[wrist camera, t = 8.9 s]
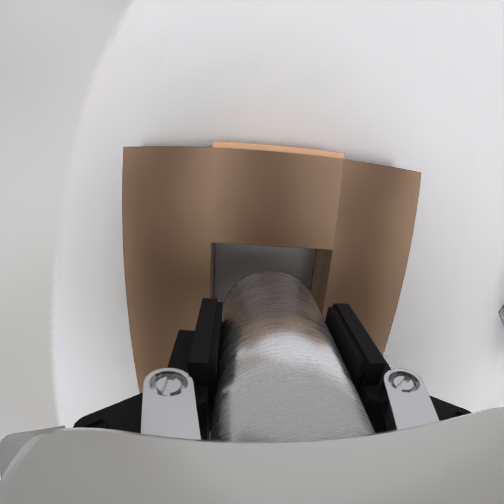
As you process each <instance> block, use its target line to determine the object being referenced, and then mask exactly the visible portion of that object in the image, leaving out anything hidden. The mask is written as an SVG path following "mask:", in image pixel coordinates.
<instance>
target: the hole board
mask: <svg viewBox="0 0 504 504" xmlns="http://www.w3.org/2000/svg"><path fill="white" fill-rule="evenodd" d="M344 154H345V153H339V152H332V151H324V150H316V149H308V148H299V147H289V146H278V145H267V144H254V143H239V142H220V141H213V144H212V147H174V146H143V147H124V148H123V176H122V222H123V251H124V269H125V283H126V295H127V306H128V316H129V325H130V333H131V341H132V348H133V355H134V362H135V368H136V375H137V381H138V386H139V392H140V393H143V386H144V380H145V378H146V377H147V376H148V374H150V373H151V372H153V371H155V370H158V369H161V368H167V367H168V364H169V360H170V357H171V354H172V350H173V347H174V344H175V341H176V338H177V334H178V331H179V330H192V331H195V328H196V323H197V319H198V315H199V311H200V306H201V302H202V298H213V299H214V267H215V243H230V244H247V245H263V246H280V247H296V248H312V249H316V255H315V262H314V270H313V277H312V284H311V290H310V292H311V294H312V296H313V298H314V300H315V302H316V304H317V306H318V308H319V310H320V313H321V315H322V317H323V319H324V321H325V320H326V315H327V310H328V308H329V307H332V306H333V304H334V303H341V304H349V305H350V307H351V308H352V310H353V311H354V313H355V314H356V316H357V318H358V319H359V321H360V322H361V324H362V325H363V327H364V328H365V330H366V331H367V333H368V334H369V336H370V337H371V339H372V340H373V342H374V343H375V345H376V346H377V348H378V350H379V351H380V353H381V354H382V356H383V353H384V350H385V346H386V343H387V340H388V336H389V333H390V330H391V326H392V323H393V319H394V315H395V312H396V308H397V304H398V300H399V296H400V292H401V288H402V284H403V279H404V275H405V270H406V266H407V261H408V256H409V251H410V246H411V240H412V235H413V229H414V223H415V217H416V210H417V203H418V196H419V188H420V180H421V172H416V171H411V170H406V169H401V168H395V167H390V166H384V165H378V164H372V163H366V162H359V161H352V160H345V159H344Z"/></svg>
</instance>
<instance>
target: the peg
mask: <svg viewBox="0 0 504 504" xmlns="http://www.w3.org/2000/svg"><path fill="white" fill-rule="evenodd" d="M374 433H375V431H374V429H373V427H372V424H371V422H370V420H369V418H368V415H367V413H366V411H365V408H364V406H363V404H362V402H361V399H360V397H359V395H358V393H357V390H356V388H355V386H354V384H353V381H352V379H351V377H350V375H349V373H348V370H347V368H346V366H345V364H344V362H343V360H342V357H341V355H340V353H339V351H338V349H337V347H336V344H335V342H334V340H333V338H332V336H331V334H330V332H329V329H328V327H327V325H326V323H325V321H324V319H323V317H322V315H321V313H320V310H319V308H318V306H317V304H316V302H315V300H314V298H313V296H312V294H311V292H310V290H309V289H308V288H307V286H306V285H305V284H304V283H303V282H301V281H300V280H299V279H297V278H295V277H294V276H292V275H289V274H286V273H282V272H276V271H266V272H259V273H256V274H253V275H250V276H248V277H246V278H244V279H242V280H241V281H239V282H238V283H237V284H236V285H235V286H234V287H233V288H232V289H231V290H230V291H229V293H228V295H227V296H226V298H225V301H224V303H223V307H222V327H221V338H220V349H219V360H218V371H217V383H216V391H215V395H214V399H213V410H212V422H211V434H210V440H216V441H240V442H280V441H305V440H320V439H332V438H343V437H352V436H360V435H367V434H374Z"/></svg>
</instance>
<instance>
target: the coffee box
mask: <svg viewBox="0 0 504 504" xmlns="http://www.w3.org/2000/svg"><path fill="white" fill-rule="evenodd" d="M499 313H500V316H501V319H502V321H503V324H504V307H503V308H502V309H501V310H500V312H499Z"/></svg>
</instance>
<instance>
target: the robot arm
mask: <svg viewBox="0 0 504 504" xmlns="http://www.w3.org/2000/svg"><path fill="white" fill-rule="evenodd" d="M222 307H223V303H217V299H213V298H202V302H201V306H200V311H199V315H198V319H197V323H196V328H195V331H192V330H179V331H178V334H177V338H176V341H175V344H174V347H173V350H172V354H171V357H170V360H169V364H168V367H167V368H161V369H158V370H155V371H153V372H151V373H150V374H148V376H147V377H146V378H145V380H144V386H143V393H140V394H138V395H136V396H133V397H131V398H129V399H126V400H124V401H121V402H119V403H116V404H114V405H112V406H109V407H107V408H104V409H102V410H99V411H96V412H94V413H91V414H89V415H86V416H84V417H82V418H80V419H79V420H78V421H77V422H76V423H75V425H74V427H73V428H66V427H65V426H59V427H54V428H48V429H42V430H36V431H29V432H22V433H13V434H10V435H7V436H6V437H4V438H3V439H2V440H1V442H0V475H1V480H0V504H504V407H502V408H492V409H486V410H481V411H478V412H474V413H471V412H470V411H468V410H466V409H463V408H460V407H458V406H455V405H452V404H450V403H447V402H445V401H442V400H440V399H437V398H434V397H432V396H429V394H428V392H427V389H426V387H425V385H424V382H423V380H422V379H421V377H419V376H418V375H417V374H416V373H414V372H412V371H409V370H406V369H392V370H391V369H390V367H389V365H388V364H387V362H386V361H385V359H384V357H383V356H382V354H381V353H380V351H379V350H378V348H377V346H376V345H375V343H374V342H373V340H372V339H371V337H370V336H369V334H368V333H367V331H366V330H365V328H364V327H363V325H362V324H361V322H360V321H359V319H358V318H357V316H356V314H355V313H354V311H353V310H352V308H351V307H350V305H349V304H341V303H334V304H333V306H332V307H329V308H328V310H327V315H326V320H325V323H326V325H327V327H328V329H329V332H330V334H331V336H332V338H333V340H334V342H335V344H336V347H337V349H338V351H339V353H340V355H341V357H342V360H343V362H344V364H345V366H346V368H347V370H348V373H349V375H350V377H351V379H352V381H353V384H354V386H355V388H356V390H357V393H358V395H359V397H360V399H361V402H362V404H363V406H364V408H365V411H366V413H367V415H368V418H369V420H370V422H371V424H372V427H373V429H374V431H375V433H374V434H367V435H360V436H352V437H343V438H332V439H320V440H305V441H280V442H240V441H216V440H209V436H210V432H211V422H212V410H213V399H214V395H215V391H216V383H217V371H218V360H219V349H220V338H221V327H222Z"/></svg>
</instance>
